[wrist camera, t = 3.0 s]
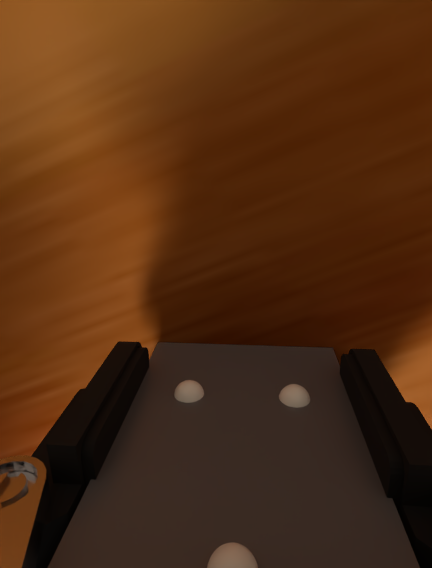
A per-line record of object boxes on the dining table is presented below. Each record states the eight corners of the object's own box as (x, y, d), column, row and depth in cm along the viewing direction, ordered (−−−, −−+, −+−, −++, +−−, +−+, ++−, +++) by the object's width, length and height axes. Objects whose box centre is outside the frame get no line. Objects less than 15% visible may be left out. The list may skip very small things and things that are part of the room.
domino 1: (157, 332, 12) (-104, 837, 3) (333, 338, 11) (588, 942, 3) (161, 389, 12) (-50, 940, 4) (328, 396, 12) (520, 1036, 3)
